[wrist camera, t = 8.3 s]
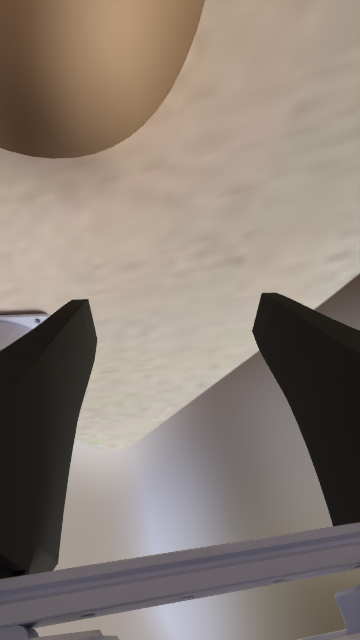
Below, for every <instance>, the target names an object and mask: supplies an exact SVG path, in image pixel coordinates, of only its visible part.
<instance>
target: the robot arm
mask: <svg viewBox="0 0 360 640" xmlns="http://www.w3.org/2000/svg"><path fill="white" fill-rule="evenodd" d="M36 318H37V319H39V320H40V321H38V320H36ZM252 332H253V335H254V337H255V340H256V343H257V345H258V348H259V350H260V352H261V354H262V356H263V358H264V359H265V361H266V363H267V365H268V366H269V368H270V370H271V372H272V373H273V375H274V377H275V379H276V380H277V382H278V384H279V386H280V387H281V389H282V391H283V393H284V395H285V397H286V399H287V401H288V403H289V405H290V407H291V409H292V412H293V414H294V416H295V419H296V421H297V423H298V425H299V428H300V431H301V433H302V436H303V438H304V441H305V443H306V445H307V448H308V451H309V454H310V456H311V459H312V462H313V465H314V468H315V470H316V473H317V476H318V479H319V482H320V485H321V488H322V491H323V494H324V498H325V501H326V504H327V507H328V510H329V514H330V517H331V520H332V524H333V527H327V528H321V529H316V530H308V531H303V532H296V533H289V534H283V535H277V536H271V537H265V538H259V539H251V540H245V541H239V542H233V543H226V544H220V545H213V546H207V547H201V548H194V549H188V550H182V551H176V552H169V553H163V554H156V555H150V556H144V557H137V558H132V559H125V560H118V561H112V562H106V563H99V564H93V565H87V566H81V567H74V568H68V569H62V570H55V571H53V570H54V568H55V567H56V565H57V564H58V558H59V547H60V539H61V530H62V521H63V512H64V505H65V498H66V490H67V483H68V475H69V468H70V462H71V456H72V450H73V444H74V438H75V433H76V427H77V421H78V417H79V413H80V409H81V405H82V402H83V399H84V395H85V392H86V388H87V385H88V381H89V378H90V374H91V371H92V367H93V364H94V360H95V353H96V345H97V336H96V332H95V327H94V323H93V318H92V314H91V309H90V305H89V300H88V299H82V300H71V301H70V302H68V303H67V304H65V305H64V306H63V307H61V308H60V309H59V310H57V311H56V312H55V313H53V314H52V315H51V316H48V315H47V314H21V315H0V640H119V638H118V637H117V636H104V635H102V633H101V632H100V630H92V631H85V632H76V633H69V634H60V635H52V636H45V637H39V636H38V633H37V632H36V631H35V629H32V628H38V627H43V626H48V625H54V624H59V623H65V622H71V621H76V620H81V619H87V618H92V617H98V616H103V615H109V614H114V613H120V612H125V611H131V610H136V609H142V608H147V607H152V606H158V605H164V604H169V603H174V602H180V601H185V600H191V599H196V598H201V597H208V596H213V595H219V594H224V593H229V592H235V591H240V590H246V589H251V588H256V587H262V586H268V585H273V584H279V583H284V582H290V581H295V580H300V579H306V578H312V577H317V576H323V575H328V574H334V573H339V572H345V571H350V570H356V569H360V331H359V330H356V329H354V328H352V327H349V326H347V325H345V324H343V323H340V322H338V321H336V320H333V319H331V318H329V317H327V316H325V315H323V314H321V313H319V312H317V311H314V310H312V309H310V308H308V307H306V306H304V305H302V304H300V303H298V302H296V301H294V300H292V299H290V298H288V297H285V296H283V295H281V294H278V293H262V295H261V298H260V302H259V306H258V310H257V314H256V318H255V322H254V326H253V330H252ZM335 600H336V603H337V605H338V608H339V610H340V612H341V615H342V617H343V619H344V622H345V630H340V631H335V632H330V633H326V634H321V635H316V636H311V637H306V638H301V639H297V640H360V585H358V586H355V587H352V588H350V589H347V590H344V591H341V592H338V593H336V594H335Z"/></svg>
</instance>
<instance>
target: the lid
mask: <svg viewBox="0 0 360 640" xmlns="http://www.w3.org/2000/svg"><path fill="white" fill-rule="evenodd" d="M204 2H205V0H0V148H3V149H6V150H8V151H12V152H16V153H20V154H24V155H28V156H34V157H44V158H73V157H81V156H86V155H90V154H95V153H98V152H101V151H103V150H106V149H108V148H111V147H113V146H115V145H116V144H118V143H120V142H121V141H123V140H125V139H127V138H128V137H130V136H131V135H132V134H133V133H134V132H136V131H137V130H138V129H139V128H140V127H142V126H143V125H144V124H145V123H146V122H147V120H148V119H149V118H150V117H151V116H152V115H153V114H154V113H155V111H156V110H157V109H158V108H159V106H160V105H161V103H162V102H163V100H164V99H165V97H166V96H167V94H168V93H169V91H170V90H171V88H172V86H173V84H174V82H175V80H176V78H177V77H178V75H179V73H180V71H181V69H182V67H183V64H184V62H185V60H186V57H187V55H188V52H189V49H190V47H191V44H192V41H193V39H194V36H195V33H196V31H197V28H198V24H199V20H200V16H201V13H202V9H203V5H204Z"/></svg>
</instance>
